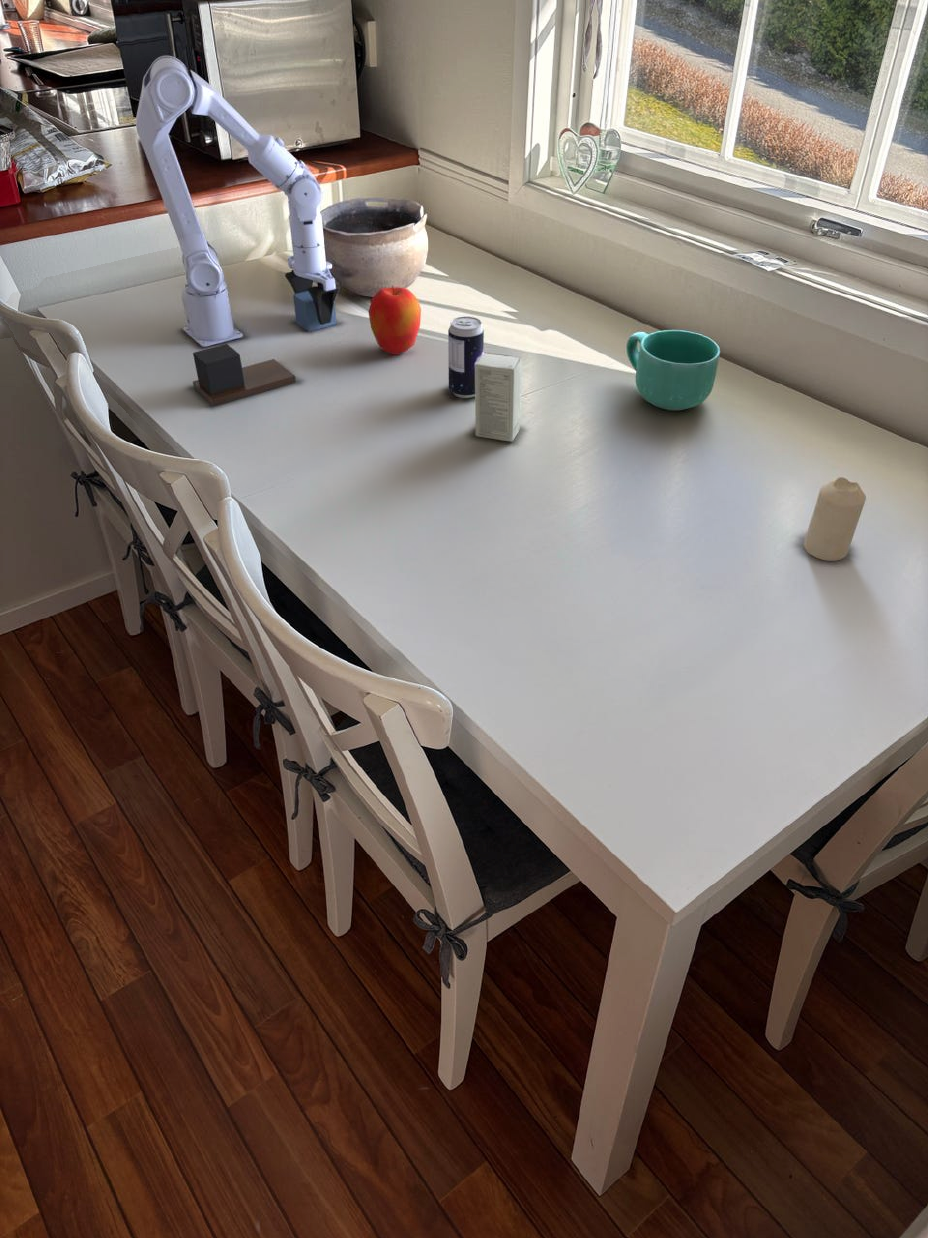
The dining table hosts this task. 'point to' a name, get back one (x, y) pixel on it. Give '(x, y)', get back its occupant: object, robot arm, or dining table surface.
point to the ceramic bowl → (375, 243)
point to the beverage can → (464, 354)
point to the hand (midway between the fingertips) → (315, 316)
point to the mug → (673, 367)
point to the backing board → (252, 382)
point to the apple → (395, 319)
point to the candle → (834, 519)
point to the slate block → (309, 312)
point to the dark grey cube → (219, 369)
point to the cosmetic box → (497, 396)
